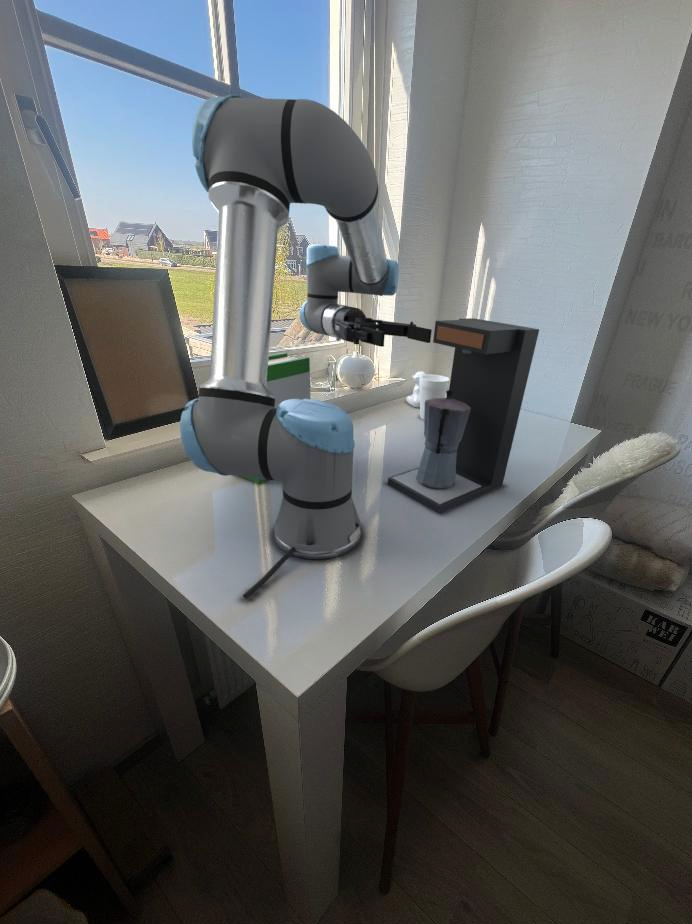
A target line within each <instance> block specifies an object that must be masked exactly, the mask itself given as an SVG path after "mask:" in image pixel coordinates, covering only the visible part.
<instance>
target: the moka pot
mask: <svg viewBox="0 0 692 924" xmlns="http://www.w3.org/2000/svg"><path fill="white" fill-rule="evenodd" d="M453 393H454V392H453V391H451V390H449V389H447V391H446V396H445V398H433V399H430V400H426V401H425V413H424V421H423V425H424V427H423V435H424V438H425V439H424V449H423V452H422V456H421V458H420V459H421V460H420V463H419V467H418V468H419V470H418V473H417V477H416V479H417V480H418V482H420V483H421V484H423V485H426V486H429V487H433V488H449V487H452V486H454V485H455V476H456V456H457V449H458V444H459V442H460V441H461V440H462V436H463V433H464V430H465V426H466V423H467V420H468V417H469V414H470V411H471V408H470V407H469V406H468V405H467V404H466V403H463V402H460V401H457V400H455V399H452V396H453Z"/></svg>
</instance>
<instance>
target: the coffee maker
mask: <svg viewBox="0 0 692 924" xmlns="http://www.w3.org/2000/svg"><path fill="white" fill-rule="evenodd" d="M539 334H540V329H539V328H535V327H528V326H523V325H522V326H521V325H517V324H512V323H504V322H499V321H493V320H486V319H481V318H474V317H473V318H459V319H448V320H447V319H446V320H445V319H444V320H443V319H442V320H435V322H434V331H433V339H432V343H434V344H438V345H442V346H447V347H450V348H454V353H453V359H452V365H451V373H450V378H449V386H448V390H451V391H453V392H454V393H453V396H452V399H455V400H457V401H460V402H463V403H466V404H467V405H468V406H469V407H470V408H471V411H470V414H469V417H468V420H467V423H466V426H465V430H464V433H463V436H462V440H461V441H460V442H459V444H458V449H457V456H456V476H455V485H454V486H452V487H449V488H433V487H429V486H426V485H423V484H421V483H420V482H418V480H417V479H416V477H417V473H418V470H419V467H416V468H412V469H410V470H407V471H403V472H401V473H398V474H395V475H392V476H388V477H387V485H389V486H390V487H392V488H394V489H396V490H397V491H399V492H400V493H403V494H405V495H406V496H408V497H410V498H411V499H413V500H415V501H418V502H419V503H421V504H422V505H424V506H426V507H428V508H429V509H431V510H432V511H435V512H436V513H438V514H442V513H444V512H447V511H449V510H451V509H453V508H455V507H458V506H459V505H463V504H464V503H467V502H469V501H471V500H474V499H476V498H478V497H481V496H483V495H485V494H487V493H490V492H491V491H493V490H497V489H499V488H500V487H503V485H504V480H505V477H506V472H507V468H508V465H509V464H508V463H509V459H510V455H511V451H512V448H513V447H512V446H513V443H514V438H515V434H516V431H517V426H518V421H519V417H520V413H521V408H522V405H523V401H524V396H525V392H526V387H527V383H528V379H529V375H530V371H531V367H532V362H533V358H534V354H535V350H536V346H537V342H538V337H539Z"/></svg>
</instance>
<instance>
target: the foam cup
mask: <svg viewBox="0 0 692 924" xmlns="http://www.w3.org/2000/svg"><path fill="white" fill-rule="evenodd" d="M425 374H426V373H425ZM419 385H420V408H419V418H420V419H421V420H424V413H425V401H426V400H430V399H433V398H446V391H448V389H449V386H450V378H449V377H447V376H446V375H445V376H444V375H440V374H431V373H430V374H429V373H427V374H426V375H421V376H420V381H419Z"/></svg>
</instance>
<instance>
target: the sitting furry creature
mask: <svg viewBox="0 0 692 924" xmlns="http://www.w3.org/2000/svg"><path fill="white" fill-rule="evenodd" d="M421 375H426V372H424V371H422V370H420V371H417V372H416V373H415V374H411V378H412V380H413V382H414V384H415V385H414V387H413V390H412V394H410V395H408V396H406V398H405V399H406V403H408V404H409V405H410V406H411V407H413V408H417V409H420V385H419V381H420V376H421Z"/></svg>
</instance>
